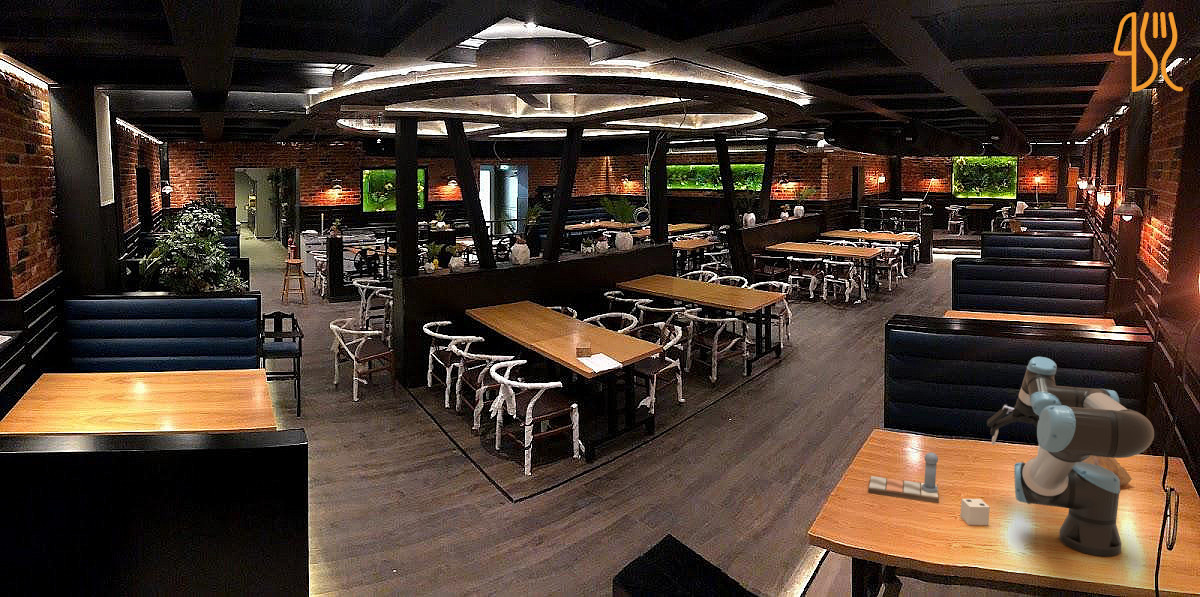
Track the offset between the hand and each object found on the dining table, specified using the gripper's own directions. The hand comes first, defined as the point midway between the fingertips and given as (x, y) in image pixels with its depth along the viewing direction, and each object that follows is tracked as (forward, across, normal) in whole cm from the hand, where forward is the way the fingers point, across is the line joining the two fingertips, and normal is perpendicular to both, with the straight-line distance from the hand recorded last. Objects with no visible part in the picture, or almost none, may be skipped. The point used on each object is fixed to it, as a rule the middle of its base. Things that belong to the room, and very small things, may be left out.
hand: (1015, 447), depth 243 cm
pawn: (+14, +23, +16) cm, 31 cm away
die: (+7, +10, +30) cm, 33 cm away
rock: (+27, -29, -23) cm, 46 cm away
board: (+16, +31, +17) cm, 39 cm away
